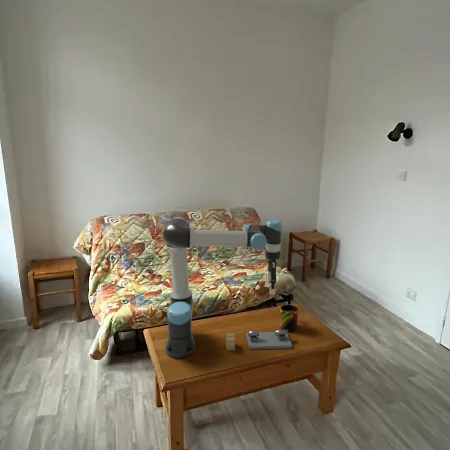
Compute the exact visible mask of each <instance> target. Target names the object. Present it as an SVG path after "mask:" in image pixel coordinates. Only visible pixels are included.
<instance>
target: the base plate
mask: <svg viewBox="0 0 450 450" xmlns="http://www.w3.org/2000/svg"><path fill="white" fill-rule="evenodd" d="M285 336H286V340H281V341H279V339H278V338H277V336H276V335H275V331H264V332H263V331H260V332H259V336H257V342H250V338H249V336H248V332H246V339H247V343H248V349H249V350H270V349H272V350H275V349H278V350H279V349H293V344H292V341H291V339H290V337H289V333H288V334H285Z"/></svg>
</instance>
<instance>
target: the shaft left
mask: <svg viewBox="0 0 450 450" xmlns="http://www.w3.org/2000/svg"><path fill="white" fill-rule="evenodd" d="M247 333H248V336H249V338H250V342H257V336H259V331H258V330H249V331H247Z"/></svg>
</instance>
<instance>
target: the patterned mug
mask: <svg viewBox="0 0 450 450" xmlns="http://www.w3.org/2000/svg"><path fill="white" fill-rule="evenodd" d="M279 313H280V314H279V316H280V317H279V330H283V329H287V330H288V334H289V333H294V332H297V331H298V330H297V329H298V318H299V317H298V314H299V309H298V307H297V306H295V305H292V304H290V303H288V304H283V305H281V306H280V312H279Z"/></svg>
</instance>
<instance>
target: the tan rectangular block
mask: <svg viewBox="0 0 450 450" xmlns="http://www.w3.org/2000/svg"><path fill="white" fill-rule="evenodd" d="M225 336H226V340H225V344H226V351H235V349H236V338H235V337H236V336H235V332H232V333H226V334H225Z"/></svg>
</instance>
